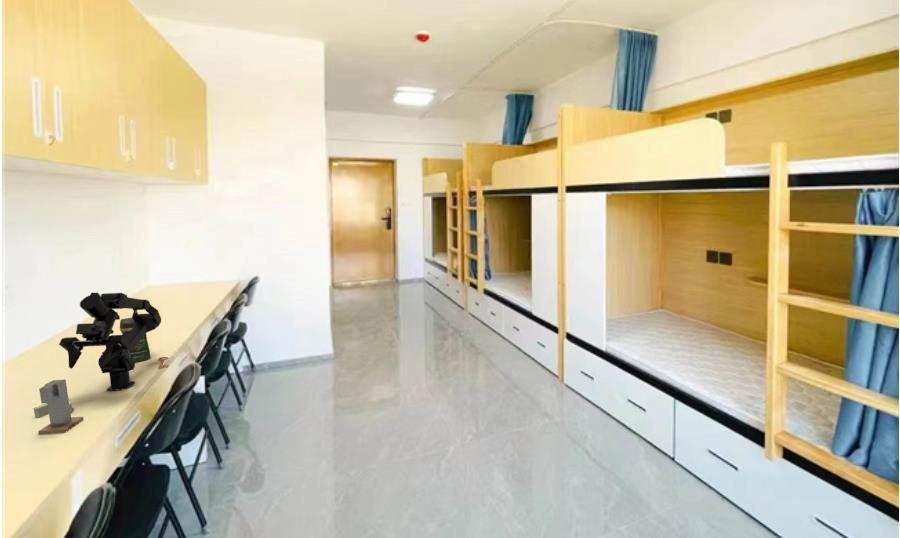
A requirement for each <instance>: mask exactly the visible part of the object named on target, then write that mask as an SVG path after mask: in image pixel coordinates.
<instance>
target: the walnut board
mask: <svg viewBox="0 0 900 538" xmlns="http://www.w3.org/2000/svg"><path fill="white" fill-rule="evenodd" d="M71 419H72V421H70V422H69V423H68V424H66V425H65V426H58V427H51V423H49V424H48V425H46V426H45V427H42V428H41V429H40V430H38V431H37V433H38V435H39V434H40V435H51V433H54V434H65V433H67V432H68V431H70V430H71V429H72V427H73V428H74V427H75V425H76V424H77V425H79V424H80V423H81V422H83V421H84V420H85V419H84V416H75V417H74V416H73V417H72V416H71ZM83 419H84V420H83ZM82 420H83V421H82ZM79 422H80V423H79ZM77 425H76V426H77ZM69 429H70V430H69ZM66 431H67V432H66ZM64 432H65V433H64Z"/></svg>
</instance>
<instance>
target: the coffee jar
mask: <svg viewBox="0 0 900 538" xmlns="http://www.w3.org/2000/svg"><path fill="white" fill-rule="evenodd" d="M119 320H120V321H119V331H120V332H121V335H123V336H124V337H125V336H126V335H127V334H128V333H129V332H130V331H131V329H132V328H133V327H134V326H135V324H134V320H133V318H132V317H127V318H120V319H119ZM130 357H131V358H132V359H133V360H134V361H135V363H137V362H138V363H139V362H142V361H143V362H144V361H146V360H149V359H150V358H151V351H150V346H149V342H148V337H147V333H146V334H145V336H144V337H143V338H142V339H141V340H140V342H139V343H138V344H137V345H136V347H135V348H134V349H133V350H132V352H131V353H130Z"/></svg>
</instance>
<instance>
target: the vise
mask: <svg viewBox="0 0 900 538" xmlns="http://www.w3.org/2000/svg"><path fill="white" fill-rule="evenodd" d="M69 406H70V412H71V414H73V413H74V412H75V409H74V407H73V406H72V403H69ZM73 411H74V412H73ZM72 412H73V413H72ZM33 413H34V418H38V419H39V418H43V417H44V416H47V415H49V411H48V404H47V403H42V405H38V406H36V407H34V408H33Z"/></svg>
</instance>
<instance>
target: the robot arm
mask: <svg viewBox="0 0 900 538" xmlns="http://www.w3.org/2000/svg"><path fill="white" fill-rule="evenodd" d="M79 308H81V309H82V310H83V311H84V312H85V313H86V314H87V315H88V316H90V318H93V322H92V323H89V322H88V323H77V324H76V332H75V334H76V335H82V336H81V337H82V339H85V340H80V339H79V338H78V337H77V336H73V337H72V336H70V337H69V336H68V337H63V338H61V339H60V342H59V343H58V345H59V346H60V347H61V348H63V349H64V350H65V351H66V352H67V355H68V368H69V369H73V368H74V367H75V365H76V364H77V362H78V360H79V358H80V357H81V355H82V353H83V352H82V350H83V349H84V347H86V348H87V347H101V346H103V347H105V350H104V351H102V352H101V355H100V356H99V358H98V366H99V368H100V370H101V373H102V374H108V373H109V382H110V386H109V387H108V388H106V391H107V390H108V391H119V390H127V389H128V388H130V387H131V386H132V385H134V384H135V383H136V381H135V380H132V381H131V378H130V372H131V371H133V370H135V367H136V362H135V361H134V360H133V359H132V358H131V357H130V353H131V352H132V350H133V349H134V348H135V347H136V345H137V344H138V343H139V342H140V340H141V339H142V338H143V337H144V336H145V334H146V335H147V333H149V332H152V331H154V330H156V329H157V328H158V327H159V326H160V325H161V322H162V317H161V315H160V312H159V310H158V309H157V308H156V307H154V306H153V305H152V304H151V303H150V301H149V300H148V299H140V298H133V297H129V296H128V295H127V294H125V293H123V292H112V293H111V292H109V293H101V294H100V293H98V292H91V293H90V294H89V295H87V296H86V297H84V298H83V299H82V300H81V301H79ZM119 309H120V310H121V309H129V310H130V309H131V310H133V313H132V316H131V318H133V320H134V324H135V326H134V327H133V328H132V329H131V331H130V332H129V333H128V334H127V335H126V336H125V337H124V336H123V335H122V334H114V333H115V330H113V327H114V326H115V325H114V324H115V322H116V321H117V320H118V321H119V320H121V317H120V315H119V313H118V312H117V311H116V310H119ZM144 310H145V312H146V313H139V312H138V311H144ZM108 391H107V392H108Z"/></svg>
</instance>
